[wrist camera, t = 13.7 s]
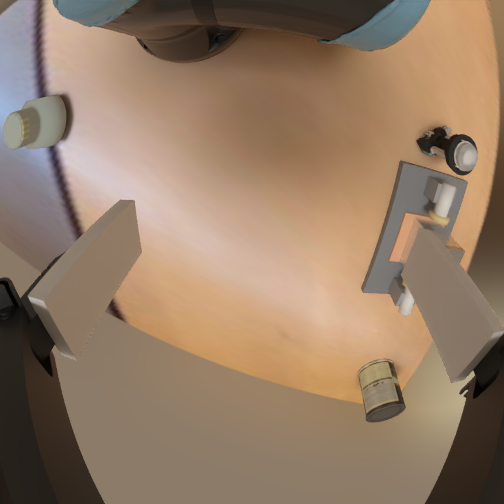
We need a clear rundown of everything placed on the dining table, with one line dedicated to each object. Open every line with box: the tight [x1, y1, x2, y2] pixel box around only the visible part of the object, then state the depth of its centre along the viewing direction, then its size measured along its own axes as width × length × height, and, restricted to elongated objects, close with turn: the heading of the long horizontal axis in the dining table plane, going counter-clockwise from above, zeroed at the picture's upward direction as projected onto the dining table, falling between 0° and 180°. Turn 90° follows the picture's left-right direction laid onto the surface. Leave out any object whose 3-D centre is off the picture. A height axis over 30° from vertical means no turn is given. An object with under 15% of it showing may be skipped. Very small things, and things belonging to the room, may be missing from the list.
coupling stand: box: [361, 161, 468, 315], centre depth 37 cm, size 24×14×8 cm, turn 176°
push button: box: [417, 126, 478, 175], centre depth 27 cm, size 7×5×10 cm
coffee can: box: [358, 359, 406, 422], centre depth 56 cm, size 10×10×14 cm
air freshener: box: [3, 95, 66, 150], centre depth 28 cm, size 11×8×10 cm
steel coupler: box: [400, 218, 465, 266], centre depth 35 cm, size 5×8×9 cm, turn 176°
